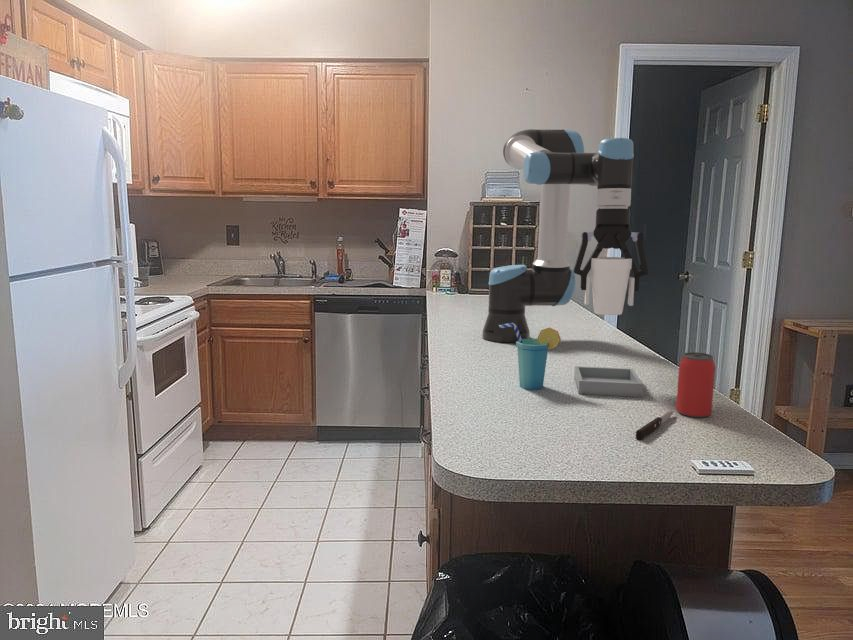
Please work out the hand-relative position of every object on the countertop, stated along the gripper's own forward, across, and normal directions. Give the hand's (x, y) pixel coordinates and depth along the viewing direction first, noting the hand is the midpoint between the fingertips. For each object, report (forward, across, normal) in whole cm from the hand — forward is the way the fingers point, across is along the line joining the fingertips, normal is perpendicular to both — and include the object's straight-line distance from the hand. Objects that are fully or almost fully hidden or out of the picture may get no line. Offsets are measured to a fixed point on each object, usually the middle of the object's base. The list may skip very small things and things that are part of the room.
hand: (608, 304), depth 145 cm
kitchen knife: (+19, +5, -32) cm, 38 cm away
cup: (+19, -18, -8) cm, 28 cm away
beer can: (+19, +14, -22) cm, 33 cm away
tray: (+19, 0, -6) cm, 19 cm away
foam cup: (+2, 0, 0) cm, 2 cm away
